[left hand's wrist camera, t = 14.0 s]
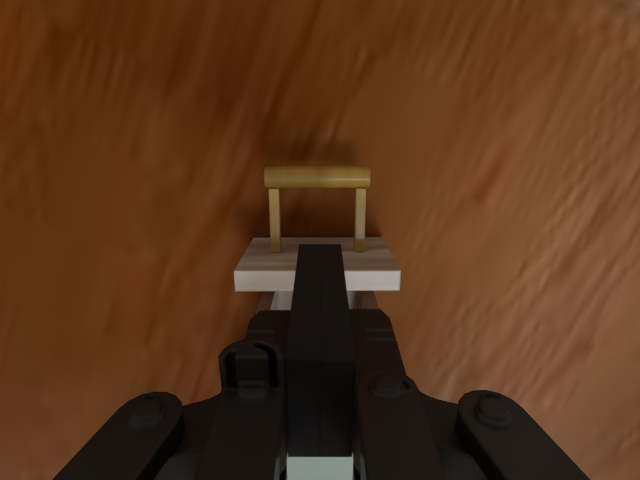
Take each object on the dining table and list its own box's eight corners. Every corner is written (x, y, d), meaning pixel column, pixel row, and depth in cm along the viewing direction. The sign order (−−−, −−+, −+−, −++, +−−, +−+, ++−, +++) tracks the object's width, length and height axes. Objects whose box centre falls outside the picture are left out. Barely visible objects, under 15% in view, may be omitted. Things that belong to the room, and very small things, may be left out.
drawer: (249, 161, 27) (226, 172, 20) (385, 160, 27) (406, 172, 20) (265, 475, 34) (252, 557, 27) (373, 475, 34) (386, 557, 27)
